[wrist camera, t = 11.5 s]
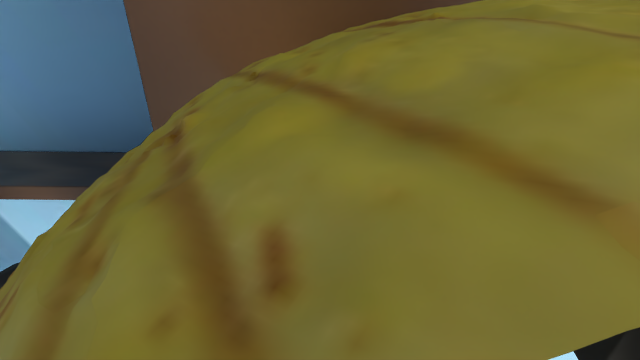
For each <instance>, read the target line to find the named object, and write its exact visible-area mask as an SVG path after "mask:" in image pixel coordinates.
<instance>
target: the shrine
mask: <svg viewBox="0 0 640 360" xmlns="http://www.w3.org/2000/svg"><path fill="white" fill-rule="evenodd" d="M639 327H640V0H482V1H476V2H471V3H466V4H461V5H453V6H448V7H439V8H433V9H428V10H424V11H419V12H413V13H407V14H403V15H400V16H396V17H393V18H390V19H385V20H379V21H374V22H370V23H367V24H364V25H361V26H356V27H350V28H348V29H346V30H344V31H341V32H338V33H333V34H330V35H328V36H325V37H323V38H321V39H317V40H314V41H312V42H310V43H308V44H306V45H304V46H301V47H299V48H297V49H294V50H291V51H288V52H286V53H279V54H277V55H275V56H271V57H267V58H265V59H262V60H259V61H256V62H254V63H252V64H250V65H248V66H247V67H245V68H244V69H242V70H241V71H240V72H238V73H236V74H234V75H232V76H230V77H227V78H225V79H222V80H220V81H219V82H217V83H216V84H214V85H213V86H212V87H211V88H209V89H207V90H205V91H204V92H202V93H200V94H199V95H197V96H196V97H194V98H193V99H192V100H191V101H189V102H188V103H187V104H186V105H184V106H183V107H182V108H181V109H179V110H178V111H176V112H175V113H173V115H172V116H171V118H170V119H169V120H168V121H167V123H166V124H164V125H163V126H162V127H160V128H159V129H157V130H155V131H153V132H152V133H151V134H150V135H149V136H148V137H147V138H146V139H145V140H144V141H143V143H142V144H141V145H140V146H138V147H135V148H134V149H132V150H130V151H128V152H127V153H126V154H125V155H124V156H123V158H122V159H121V160H120V161H118V162H117V163H116V164H115V165H114V166H113V167H112V168H111V169H110V170H109V171H108V173H106V174H105V175H103V176H101V177H99V178H98V179H97V180H96V181H95V182H94V183H93V184H92V185H91V186H90V187H89V188H88V189H87V190H85V191H84V192H83V193H82V194H81V195H80V196H79V197H77V199H76V201H75V202H74V203H73V204H72V205H71V207H70V208H69V209H68V210H67V211H66V212H65V213H64V214H63V215H62V216H61V217H60V218H59V219H58V221H57V222H56V223H55V224H54V225H53V227H51V228H50V229H49V230H48V231H47V232H45V233H43V234H41V235H40V236H38V237H37V238H36V240H35V241H34V243H33V244H32V245H31V247H30V248H29V250H28V251H27V253H26V254H25V255H24V257H23V259H22V260H21V262H20V263H19V265H18V267H17V268H16V270H15V271H14V272H13V273H12V274H11V275H10V277H9V278H8V280H7V282H6V283H5V284H4V286H3V287H2V288H1V289H0V360H548V359H551V358H554V357H557V356H560V355H563V354H566V353H569V352H572V351H575V350H577V349H580V348H583V347H585V346H588V345H591V344H593V343H596V342H599V341H601V340H604V339H607V338H609V337H612V336H615V335H617V334H620V333H623V332H625V331H628V330H632V329H635V328H639Z"/></svg>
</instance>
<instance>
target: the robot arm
mask: <svg viewBox="0 0 640 360" xmlns="http://www.w3.org/2000/svg"><path fill="white" fill-rule="evenodd" d="M18 265H19V263H17V264H14V265H12V266H10V267H8V268H6V269H5V270H3V271H1V272H0V289H1V288H2V287H3V286H4V284H5V283H6V282H7V280H8V278H9V277H10V275H11V274H12V273H13V272H14V271H15V270H16V268H17V267H18ZM574 353H575V354H576V356H577V358H578V360H640V327H639V328H635V329H632V330H628V331H625V332H623V333H620V334H617V335H615V336H612V337H609V338H607V339H604V340H601V341H599V342H596V343H593V344H591V345H588V346H585V347H583V348H580V349H577V350H575V351H574Z"/></svg>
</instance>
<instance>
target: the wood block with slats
mask: <svg viewBox="0 0 640 360" xmlns="http://www.w3.org/2000/svg"><path fill="white" fill-rule="evenodd" d="M476 1H482V0H123V2H124V6H125V10H126V15H127V19H128V23H129V27H130V32H131V36H132V40H133V45H134V49H135V53H136V58H137V62H138V66H139V71H140V75H141V79H142V84H143V88H144V92H145V97H146V101H147V105H148V110H149V114H150V118H151V122H152V127H153V131H155V130H157V129H159V128H160V127H162V126H163V125H164V124H166V123H167V121H168V120H169V119H170V118H171V116H172V115H173V113H175V112H176V111H178V110H179V109H181V108H182V107H183V106H184V105H186V104H187V103H188V102H189V101H191V100H192V99H193V98H194V97H196V96H197V95H199V94H200V93H202V92H204V91H205V90H207V89H209V88H211V87H212V86H213V85H214V84H216V83H217V82H219V81H220V80H222V79H225V78H227V77H230V76H232V75H234V74H236V73H238V72H240V71H241V70H242V69H244V68H245V67H247V66H248V65H250V64H252V63H254V62H256V61H259V60H262V59H265V58H267V57H271V56H275V55H277V54H279V53H286V52H288V51H291V50H294V49H297V48H299V47H301V46H304V45H306V44H308V43H310V42H312V41H314V40H317V39H321V38H323V37H325V36H328V35H330V34H333V33H338V32H341V31H344V30H346V29H348V28H350V27H356V26H361V25H364V24H367V23H370V22H374V21H379V20H385V19H390V18H393V17H396V16H400V15H403V14H407V13H413V12H419V11H424V10H428V9H433V8H439V7H448V6H453V5H461V4H466V3H471V2H476ZM125 154H126V153H122V152H26V151H0V199H34V200H76V199H77V197H79V196H80V195H81V194H82V193H83V192H84V191H85V190H87V189H88V188H89V187H90V186H91V185H92V184H93V183H94V182H95V181H96V180H97V179H98V178H99V177H101V176H103V175H105V174H106V173H108V171H109V170H110V169H111V168H112V167H113V166H114V165H115V164H116V163H117V162H118V161H120V160H121V159H122V158H123V156H124V155H125Z"/></svg>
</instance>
